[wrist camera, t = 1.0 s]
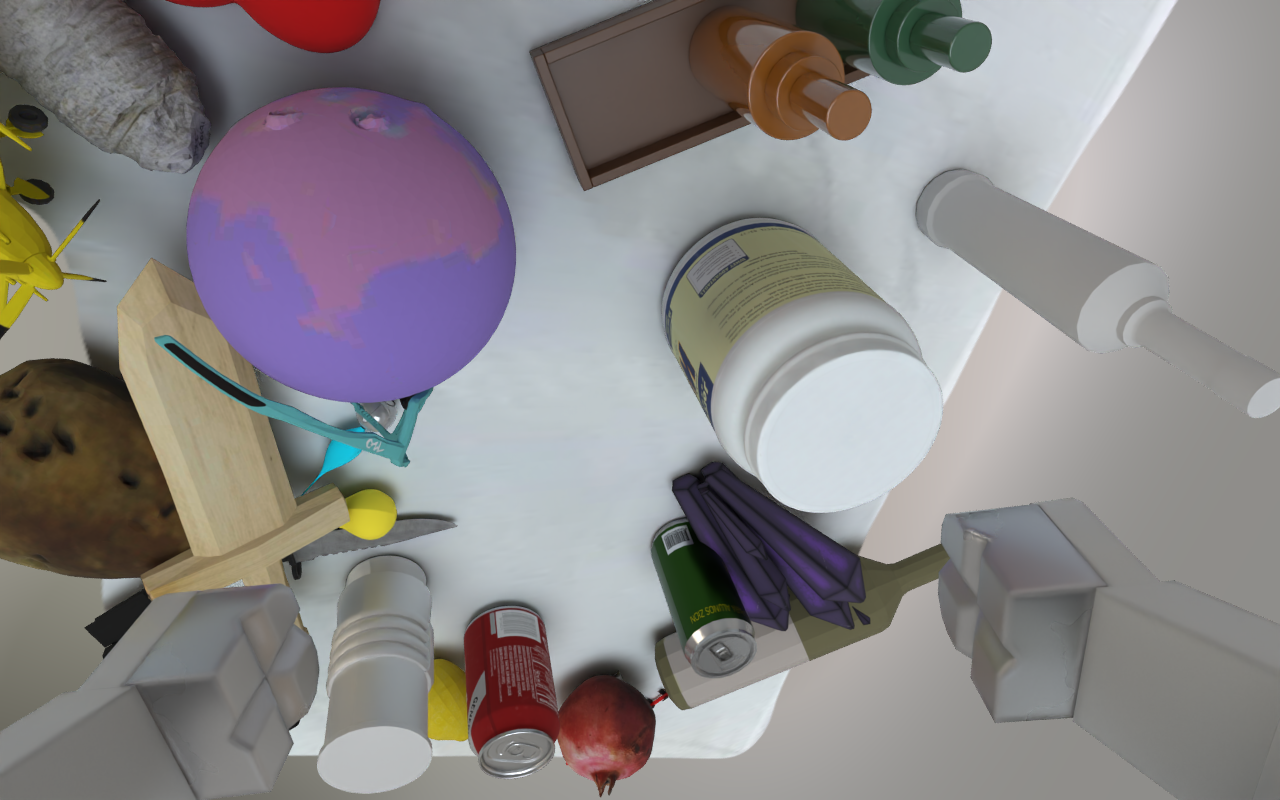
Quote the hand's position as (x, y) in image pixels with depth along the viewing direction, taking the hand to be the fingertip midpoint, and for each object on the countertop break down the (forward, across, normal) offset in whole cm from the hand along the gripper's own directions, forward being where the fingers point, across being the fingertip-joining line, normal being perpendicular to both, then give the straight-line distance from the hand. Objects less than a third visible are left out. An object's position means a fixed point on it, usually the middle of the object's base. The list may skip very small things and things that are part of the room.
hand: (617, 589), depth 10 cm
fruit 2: (+46, +9, +49) cm, 68 cm away
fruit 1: (+37, +18, +44) cm, 60 cm away
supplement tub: (+44, -7, +11) cm, 46 cm away
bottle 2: (+46, -21, +7) cm, 51 cm away
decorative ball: (+38, +15, +1) cm, 40 cm away
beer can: (+46, 0, +33) cm, 56 cm away
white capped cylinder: (+41, +22, +30) cm, 55 cm away
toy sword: (+34, +28, +30) cm, 53 cm away
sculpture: (+33, +28, +19) cm, 47 cm away
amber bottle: (+40, -6, -4) cm, 41 cm away
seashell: (+31, +22, -12) cm, 40 cm away
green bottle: (+42, -13, -6) cm, 44 cm away
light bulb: (+39, +22, +22) cm, 50 cm away
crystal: (+43, -2, +24) cm, 49 cm away
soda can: (+44, +15, +38) cm, 60 cm away
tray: (+41, -6, -4) cm, 42 cm away
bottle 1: (+44, +2, +46) cm, 64 cm away
